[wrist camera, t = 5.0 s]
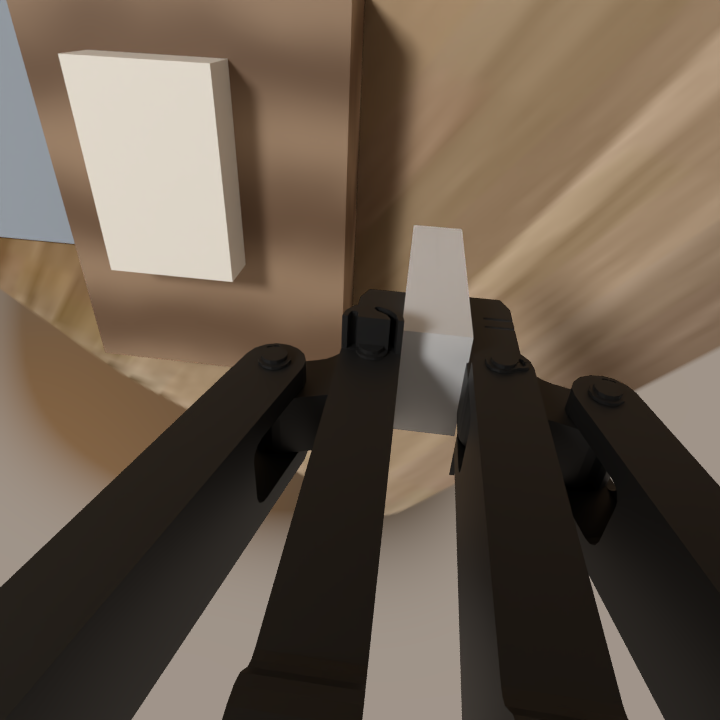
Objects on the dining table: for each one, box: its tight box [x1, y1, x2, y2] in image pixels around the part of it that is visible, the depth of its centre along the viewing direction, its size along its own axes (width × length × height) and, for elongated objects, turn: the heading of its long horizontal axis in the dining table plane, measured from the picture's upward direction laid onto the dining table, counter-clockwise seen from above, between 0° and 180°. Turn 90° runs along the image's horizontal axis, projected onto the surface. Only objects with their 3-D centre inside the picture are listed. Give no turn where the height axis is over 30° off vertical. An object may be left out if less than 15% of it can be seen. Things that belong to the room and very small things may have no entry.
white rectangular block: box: [58, 50, 246, 282], centre depth 23 cm, size 9×6×2 cm, turn 178°
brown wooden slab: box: [6, 0, 365, 367], centre depth 27 cm, size 18×14×4 cm
